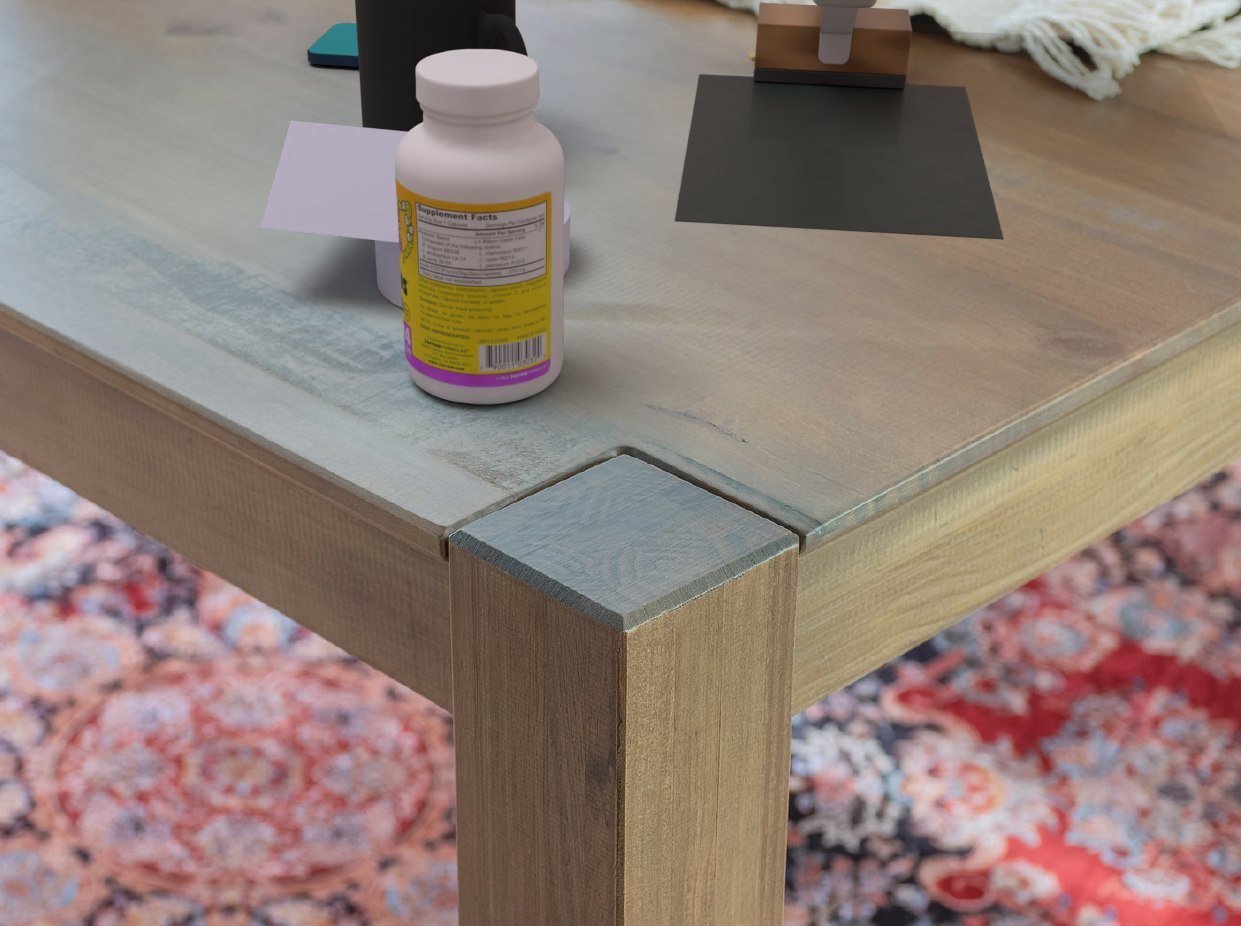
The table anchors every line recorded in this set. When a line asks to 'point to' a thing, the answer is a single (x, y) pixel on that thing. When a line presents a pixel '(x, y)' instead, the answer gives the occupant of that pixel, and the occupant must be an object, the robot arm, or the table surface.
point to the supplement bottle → (481, 231)
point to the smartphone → (336, 47)
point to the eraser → (795, 42)
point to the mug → (420, 48)
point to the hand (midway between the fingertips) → (831, 46)
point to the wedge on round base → (347, 192)
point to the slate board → (836, 159)
